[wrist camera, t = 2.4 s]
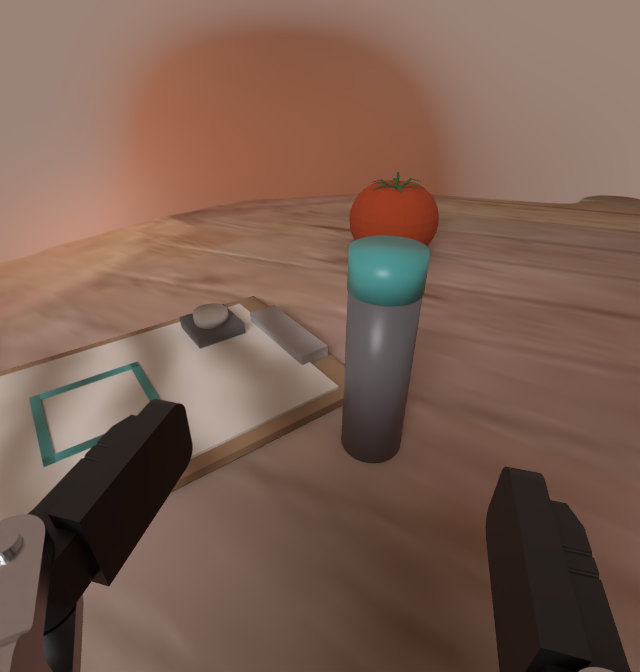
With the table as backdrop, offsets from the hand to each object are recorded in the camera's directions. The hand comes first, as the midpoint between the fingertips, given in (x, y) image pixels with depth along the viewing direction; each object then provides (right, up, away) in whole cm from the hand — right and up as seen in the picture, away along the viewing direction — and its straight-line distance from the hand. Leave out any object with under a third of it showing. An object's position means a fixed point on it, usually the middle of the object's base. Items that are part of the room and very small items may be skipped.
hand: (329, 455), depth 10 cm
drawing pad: (-11, -1, +19) cm, 22 cm away
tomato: (+8, +12, +41) cm, 43 cm away
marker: (+3, -3, +15) cm, 16 cm away
